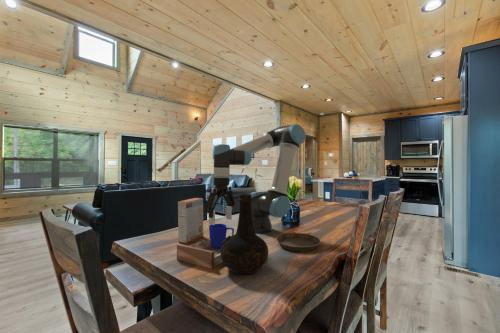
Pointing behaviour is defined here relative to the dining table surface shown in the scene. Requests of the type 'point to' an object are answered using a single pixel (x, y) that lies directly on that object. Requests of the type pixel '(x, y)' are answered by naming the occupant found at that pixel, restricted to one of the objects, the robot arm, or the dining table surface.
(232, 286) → the dining table surface
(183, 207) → the cracker box
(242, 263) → the dark brown vase
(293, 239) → the plant saucer
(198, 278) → the dining table surface
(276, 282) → the dining table surface
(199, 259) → the channel
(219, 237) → the mug
